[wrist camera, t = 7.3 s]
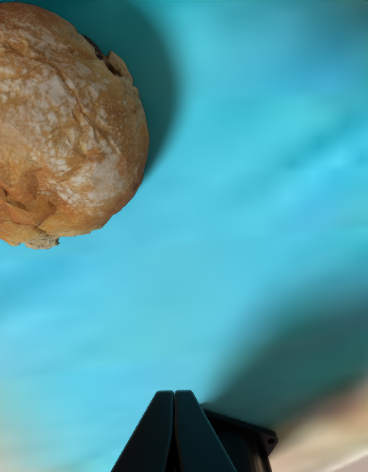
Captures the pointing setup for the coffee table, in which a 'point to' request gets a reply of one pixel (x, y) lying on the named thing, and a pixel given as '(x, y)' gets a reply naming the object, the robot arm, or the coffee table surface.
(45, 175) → the bread roll
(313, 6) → the coffee table surface
